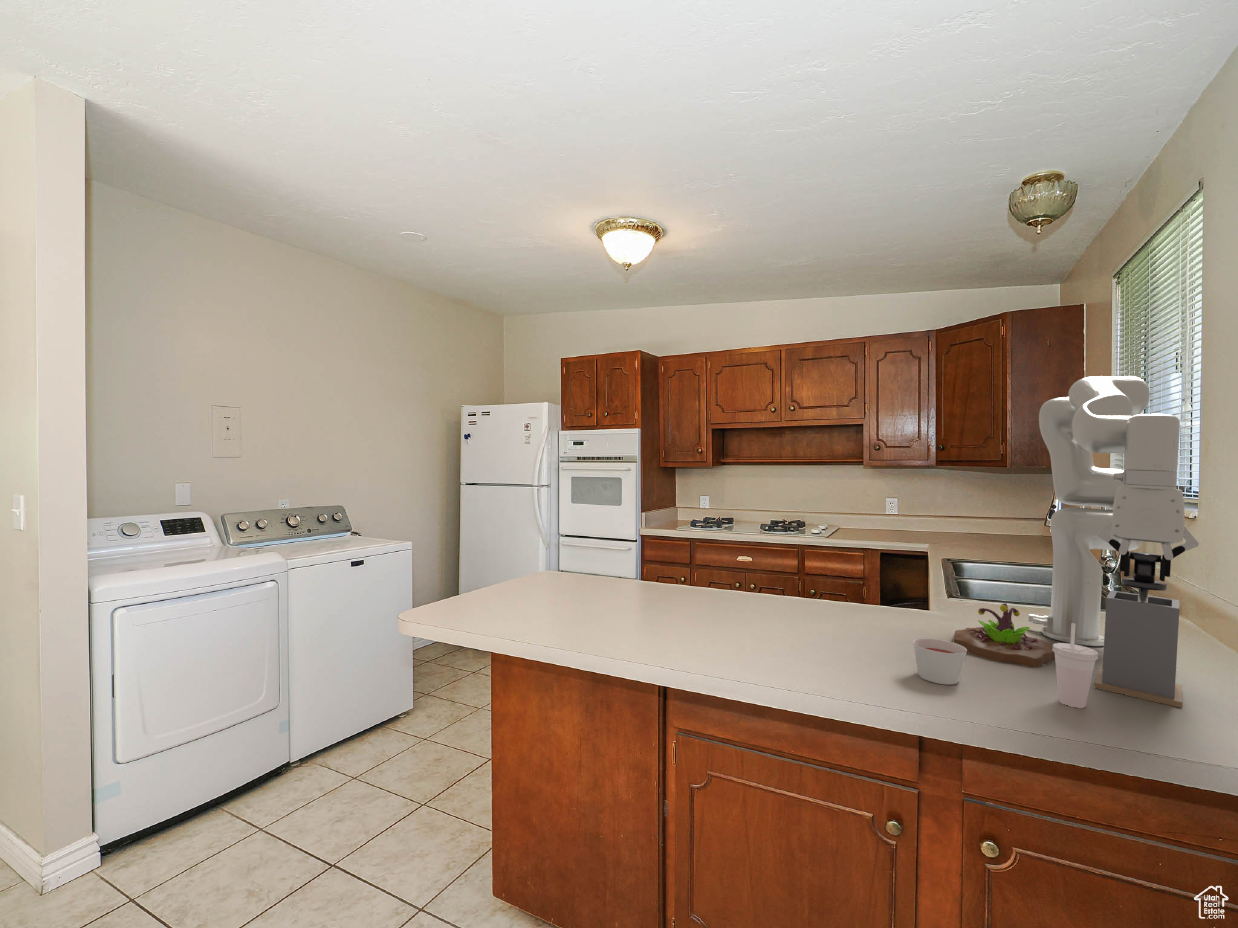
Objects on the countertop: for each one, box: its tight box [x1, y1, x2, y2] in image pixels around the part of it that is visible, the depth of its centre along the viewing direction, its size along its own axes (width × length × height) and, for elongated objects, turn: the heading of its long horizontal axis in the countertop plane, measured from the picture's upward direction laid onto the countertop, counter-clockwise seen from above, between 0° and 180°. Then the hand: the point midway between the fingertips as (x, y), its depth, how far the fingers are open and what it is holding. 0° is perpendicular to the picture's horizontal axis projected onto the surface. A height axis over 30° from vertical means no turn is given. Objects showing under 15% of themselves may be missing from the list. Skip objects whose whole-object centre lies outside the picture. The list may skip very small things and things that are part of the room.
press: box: [1093, 590, 1183, 709], centre depth 113 cm, size 12×12×17 cm
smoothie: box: [1052, 623, 1099, 709], centre depth 105 cm, size 6×6×14 cm
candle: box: [913, 637, 968, 686], centre depth 115 cm, size 9×9×6 cm
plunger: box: [1120, 551, 1168, 603], centre depth 113 cm, size 7×7×24 cm
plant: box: [952, 602, 1055, 668], centre depth 134 cm, size 20×20×11 cm
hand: (1144, 576), depth 113 cm, fingers closed on plunger, 4 cm apart
